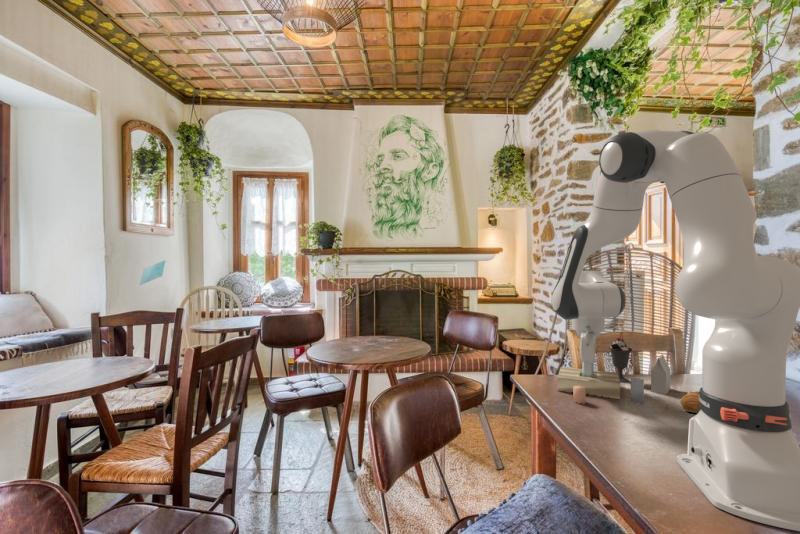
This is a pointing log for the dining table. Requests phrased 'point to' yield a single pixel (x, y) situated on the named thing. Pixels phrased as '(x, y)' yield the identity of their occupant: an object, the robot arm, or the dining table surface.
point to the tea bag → (660, 376)
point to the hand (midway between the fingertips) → (588, 370)
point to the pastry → (691, 402)
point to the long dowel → (583, 371)
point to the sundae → (620, 356)
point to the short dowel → (579, 394)
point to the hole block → (590, 382)
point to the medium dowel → (637, 390)
